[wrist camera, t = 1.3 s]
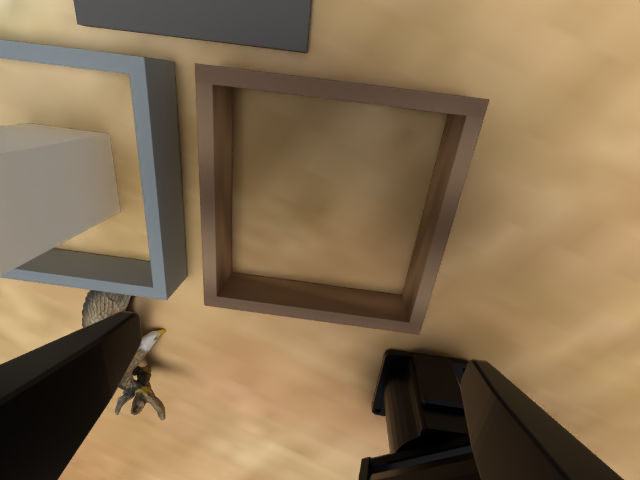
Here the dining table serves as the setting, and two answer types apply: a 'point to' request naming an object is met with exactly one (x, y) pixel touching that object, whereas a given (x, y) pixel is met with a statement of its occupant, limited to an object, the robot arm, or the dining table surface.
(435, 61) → the dining table surface
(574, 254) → the dining table surface
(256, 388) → the dining table surface
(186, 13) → the dark grey flat slab
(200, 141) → the frame
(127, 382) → the eagle figurine
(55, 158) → the letter block
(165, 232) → the frame
